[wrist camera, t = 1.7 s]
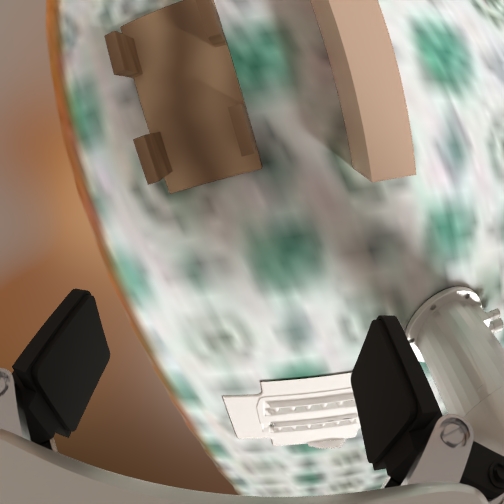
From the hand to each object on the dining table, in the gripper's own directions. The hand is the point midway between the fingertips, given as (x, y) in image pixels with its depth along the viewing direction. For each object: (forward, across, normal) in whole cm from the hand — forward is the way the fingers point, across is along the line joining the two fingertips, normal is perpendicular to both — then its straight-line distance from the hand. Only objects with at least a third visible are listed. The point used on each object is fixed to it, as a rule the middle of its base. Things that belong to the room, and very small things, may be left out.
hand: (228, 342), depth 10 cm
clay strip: (+21, -8, -14) cm, 26 cm away
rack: (+21, +6, -9) cm, 24 cm away
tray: (+22, -13, +35) cm, 43 cm away
